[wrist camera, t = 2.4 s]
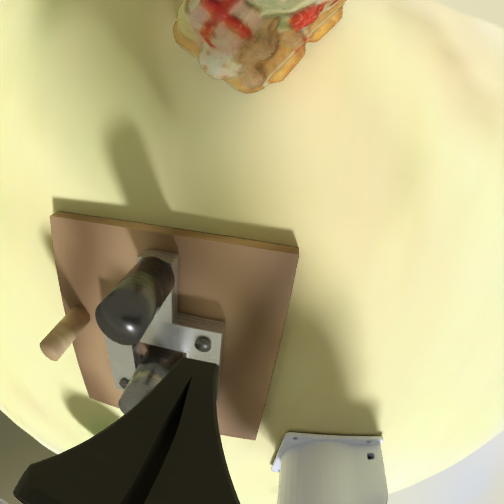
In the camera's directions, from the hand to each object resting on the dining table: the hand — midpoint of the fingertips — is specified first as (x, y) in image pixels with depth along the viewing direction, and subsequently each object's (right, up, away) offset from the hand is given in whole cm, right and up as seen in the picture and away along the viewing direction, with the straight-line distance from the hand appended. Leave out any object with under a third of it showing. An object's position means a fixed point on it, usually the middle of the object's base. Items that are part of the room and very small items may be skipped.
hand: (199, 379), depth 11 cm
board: (-4, -2, +11) cm, 12 cm away
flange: (-4, -1, +9) cm, 10 cm away
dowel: (-10, 0, +11) cm, 15 cm away
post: (-4, -2, +11) cm, 12 cm away
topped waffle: (+3, +16, +3) cm, 17 cm away
